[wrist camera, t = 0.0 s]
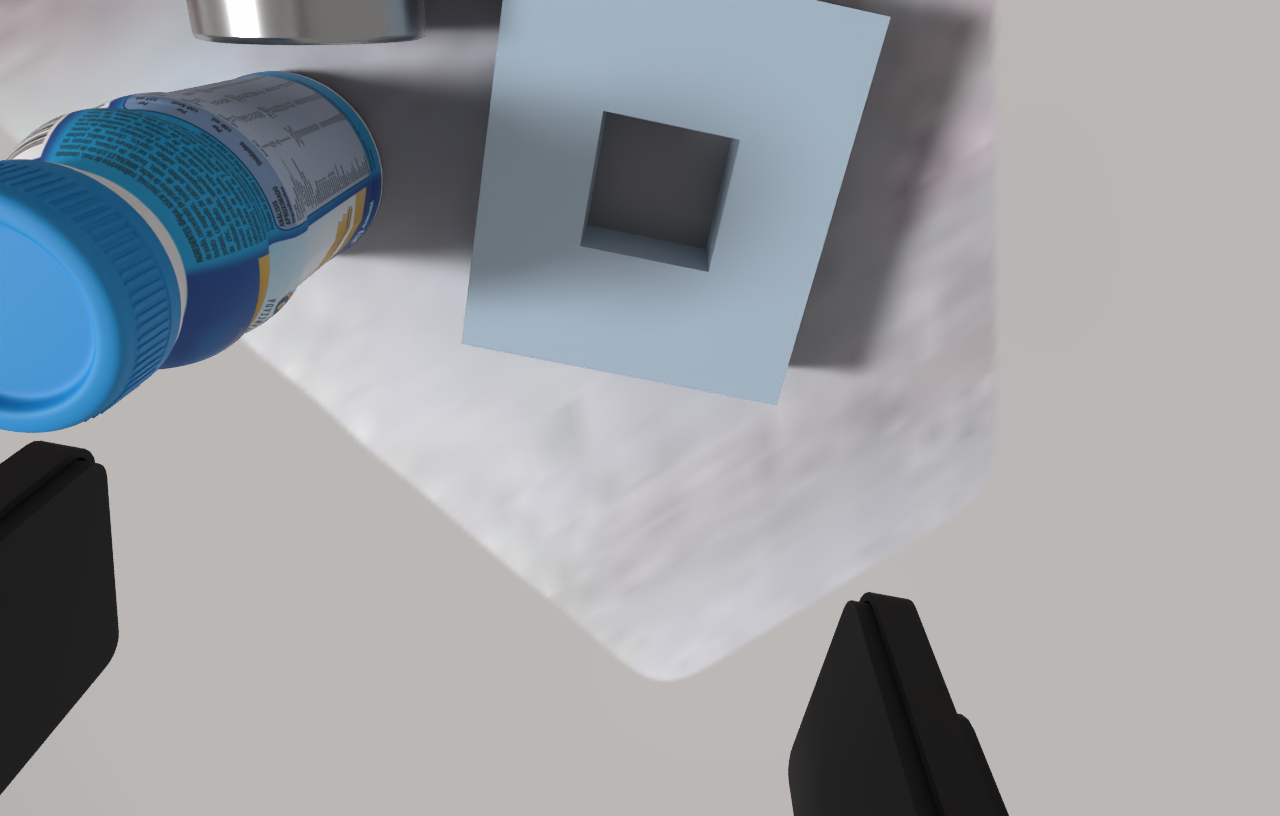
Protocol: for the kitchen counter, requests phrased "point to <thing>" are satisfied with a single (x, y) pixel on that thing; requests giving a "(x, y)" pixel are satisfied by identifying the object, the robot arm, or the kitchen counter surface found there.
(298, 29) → the muzzle brake
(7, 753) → the robot arm
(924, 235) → the kitchen counter surface
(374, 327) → the kitchen counter surface
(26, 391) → the beverage bottle
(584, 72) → the socket plate
